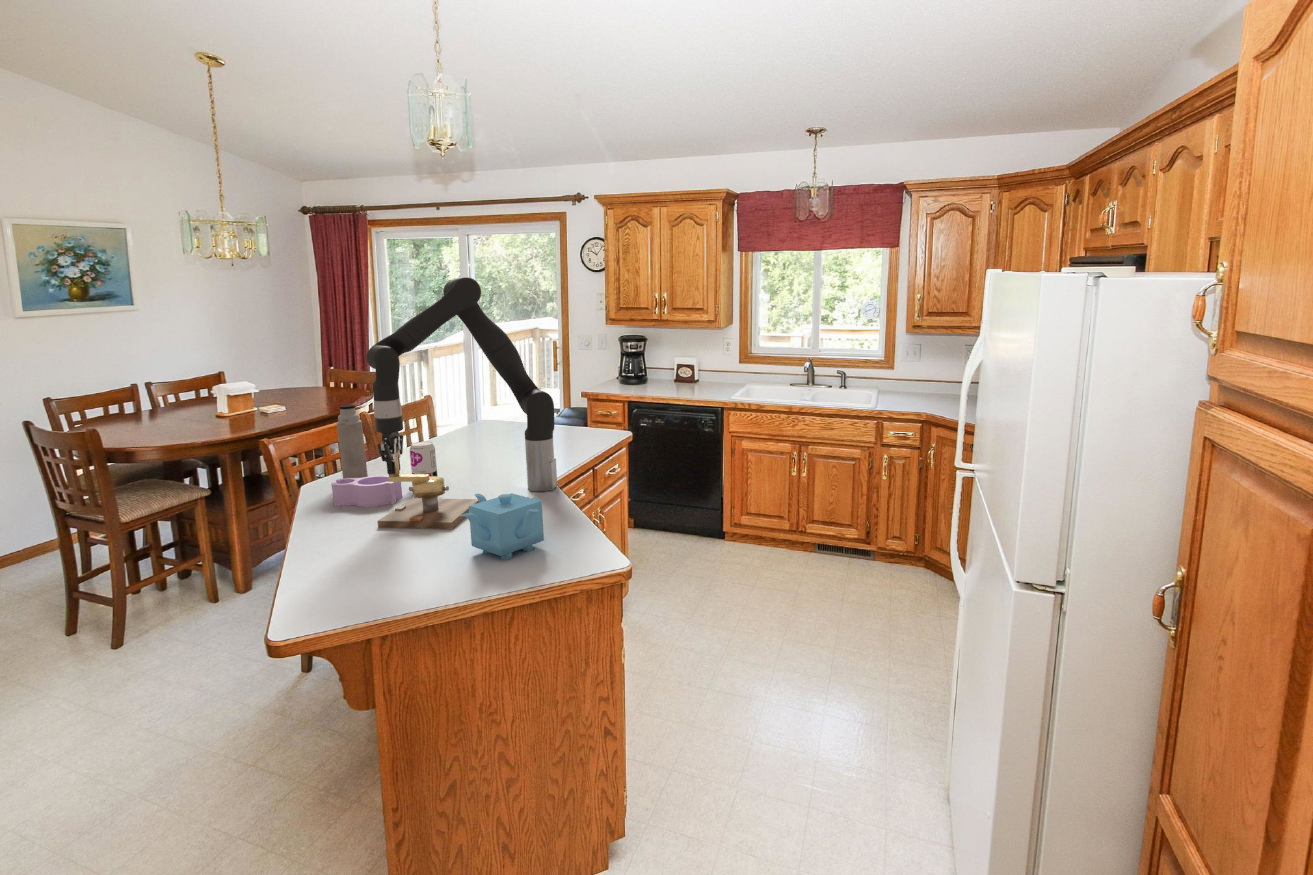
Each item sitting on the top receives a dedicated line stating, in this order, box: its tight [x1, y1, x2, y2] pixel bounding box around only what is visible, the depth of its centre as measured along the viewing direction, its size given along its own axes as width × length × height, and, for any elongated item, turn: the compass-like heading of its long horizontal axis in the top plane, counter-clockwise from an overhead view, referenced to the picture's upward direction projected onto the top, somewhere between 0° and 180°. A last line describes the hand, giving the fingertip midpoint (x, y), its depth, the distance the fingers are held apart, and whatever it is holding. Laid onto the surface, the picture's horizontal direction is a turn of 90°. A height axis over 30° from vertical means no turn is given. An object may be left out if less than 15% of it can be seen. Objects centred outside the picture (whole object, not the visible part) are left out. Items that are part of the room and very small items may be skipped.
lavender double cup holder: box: [331, 474, 403, 508], centre depth 229 cm, size 20×12×7 cm, turn 92°
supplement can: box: [409, 441, 439, 477], centre depth 243 cm, size 8×8×15 cm
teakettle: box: [460, 493, 545, 560], centre depth 182 cm, size 19×19×15 cm
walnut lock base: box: [377, 496, 479, 530], centre depth 212 cm, size 22×22×7 cm
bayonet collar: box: [387, 452, 450, 498], centre depth 210 cm, size 17×9×12 cm, turn 87°
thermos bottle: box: [336, 404, 369, 479], centre depth 246 cm, size 8×8×28 cm
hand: (394, 472), depth 210 cm, fingers closed on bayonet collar, 3 cm apart
